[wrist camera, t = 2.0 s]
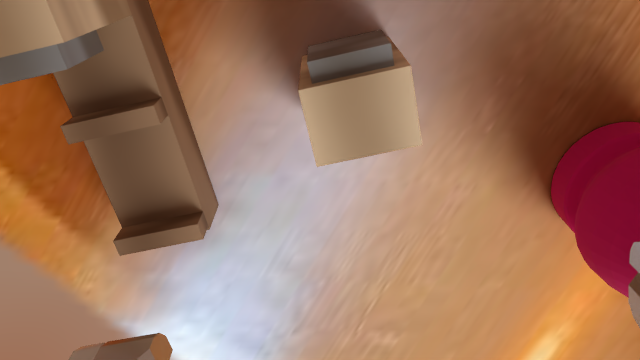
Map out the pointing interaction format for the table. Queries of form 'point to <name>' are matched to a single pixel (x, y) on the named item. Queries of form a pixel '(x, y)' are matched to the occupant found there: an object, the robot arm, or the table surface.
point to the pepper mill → (603, 199)
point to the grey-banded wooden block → (358, 98)
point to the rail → (117, 110)
